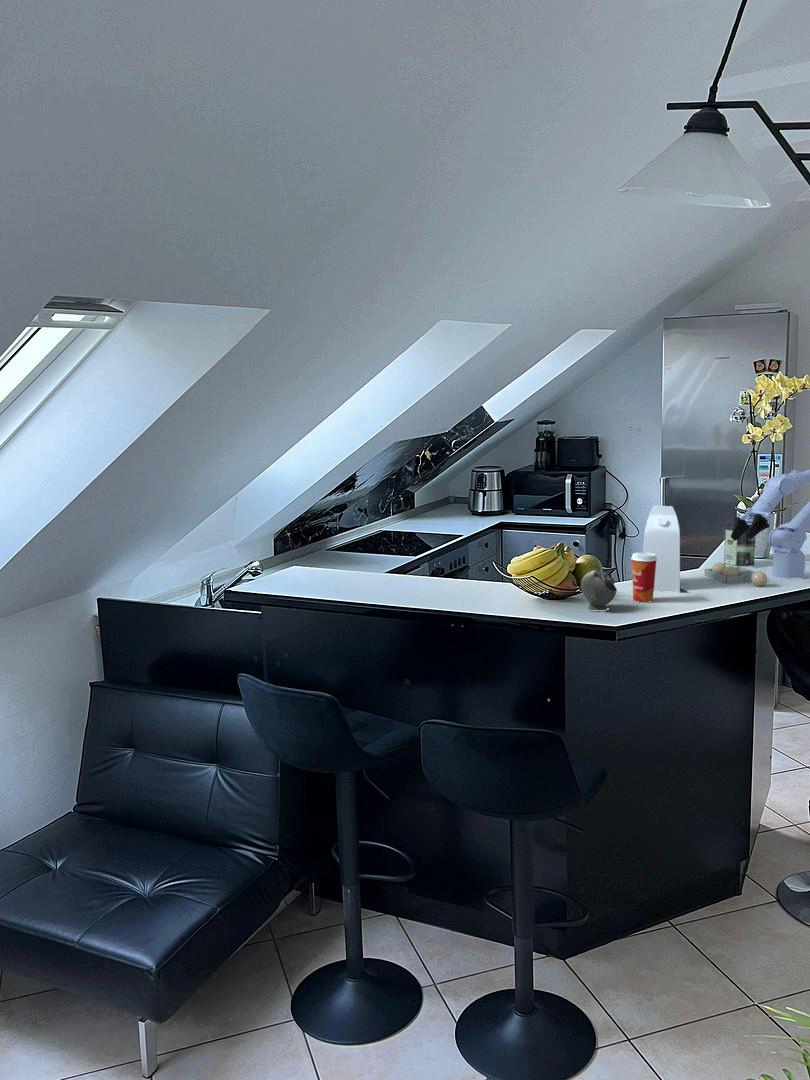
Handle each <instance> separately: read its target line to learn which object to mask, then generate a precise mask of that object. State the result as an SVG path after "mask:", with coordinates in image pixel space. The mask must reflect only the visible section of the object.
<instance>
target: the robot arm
mask: <svg viewBox="0 0 810 1080" xmlns="http://www.w3.org/2000/svg"><path fill="white" fill-rule="evenodd" d="M807 483H810V468H809V469H807V470H805V471H802V472H801V471H799V470H797V469H793V470H791V471H790V472H789V473H787V474H786V473H783V474H781V476H772V477H770V478H767V480H766V481H765V486H764V488H763V491H762V493H761V494H760V496H759V497H758V499H756V501H755V502H754V504H753V505H752V507H747V508H746V509H745V511H746V512H745V513H744V514H743V515H741V516H738V517H735V518H734V523H733V524H734V529H733V531H732V534H731V538H732V539H733V540H734V541H736V540H737V539H739V538H740V536H741V535H742V534H743V533H745V532H746V531H747V533H746V535H747V536H748V538H749V539H752V538H753V537H755V536H757V535H758V534H760V533H762V531H764V530H766V529H768V528H770V526H771V525H770V523H769V522H771V521H772V520H773V519H774V515H773V514H772V512H773V511H774V509H775V508H776V507H777V506H778V505H779V503H780V501H781V500H782V499H783V497H786V496H790V495H791V494H792V492H794V491H796V490H799V489H802V488H803V487H805V485H806V484H807ZM748 524H750V525H751V526H750V527H749V526H748ZM809 528H810V500H809V502H807V504H805V506H804V507H802V509H801V510H800V511H799V512H798V513H797V514H796V515H795V516H794V517H793V518H792V519H791V520H790V522H786V523H783V524H780V525H779V526H778V527H776V528H774V529H771V531H770V532H769V534H768V538H767V539H768V544H769V546H770V547H771V550H772V551H773V553H772V555H773V556H772V569H771V570H772V572H771V573H772V576H774V577H777V578H786V579H802V578H804V579H806V578H807V577H806V576H805V566H806V556H805V554H804V552H803V551H802V550H801V549H802V547H803V546H804V543H805V541H807V538H808V537H807V532H806V531H807V530H808V529H809Z"/></svg>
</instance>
